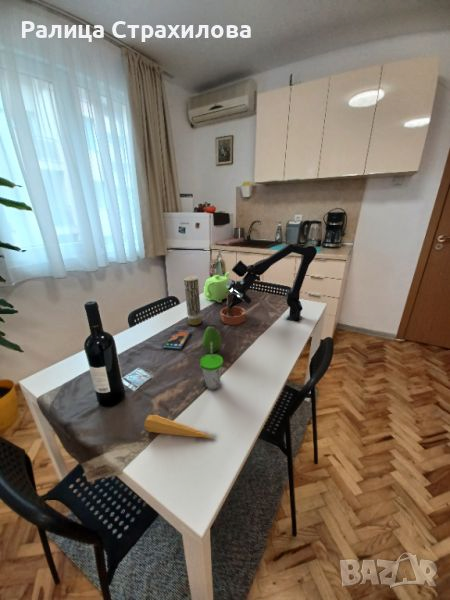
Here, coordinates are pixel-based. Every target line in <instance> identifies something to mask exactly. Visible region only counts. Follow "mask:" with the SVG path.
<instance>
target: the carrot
mask: <svg viewBox="0 0 450 600" xmlns="http://www.w3.org/2000/svg"><path fill="white" fill-rule="evenodd" d="M143 424H144V425H143V426H144V430H146V431H147V432H149V433H157V434H165V435H174V436H183V437H184V436H185V437H192V438H193V437H194V438H209V439H215V437H213V436H211V435H209V434H207V433H205V432H202V431H200V430H198V429H196V428H192V427H191V426H187V425H184V424H182V423H179V422H176V421H174V420H171V419H169V418H166V417H163V416H160V415H158V414H148V416H147V417H145V420H144V422H143Z"/></svg>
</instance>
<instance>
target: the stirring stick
mask: <svg viewBox="0 0 450 600" xmlns="http://www.w3.org/2000/svg"><path fill="white" fill-rule="evenodd" d="M232 301H233V293H232V292H229V293H227V298H226V303H227V305H226V307H227V314H226V316H231V317H232V316H235V313H234V310H233V307H232V308H229V305H230V304H231V302H232Z"/></svg>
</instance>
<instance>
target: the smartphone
mask: <svg viewBox="0 0 450 600" xmlns="http://www.w3.org/2000/svg"><path fill="white" fill-rule="evenodd" d="M191 332H192V331H191V330H188V329H187V330H185V329H175V330H174V331H173V333H172V334H171V335H170V336H169V338H168V339H167V341H166V342H165V343H164V345H163V349H169V350H181V349H182V348H183V346H184V344H185V343H186V342H187V339H188V338H189V336H190V334H191Z"/></svg>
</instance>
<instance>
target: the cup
mask: <svg viewBox="0 0 450 600" xmlns="http://www.w3.org/2000/svg"><path fill="white" fill-rule="evenodd" d="M223 364H224V359H223V356H221V355H220V354H217V353H214V352H212V342H211V353H208V354H205V355H203V356H202V357H201V358H200V359H199V365H200V368H201V369H202V374H203V377H204V382H205V387H206V388H207V389H208V390H210V391H211V390H212V391H214V390H217V389H219V387H220V384H221V376H222V375H221V374H222V368H223V367H222V366H223Z"/></svg>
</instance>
